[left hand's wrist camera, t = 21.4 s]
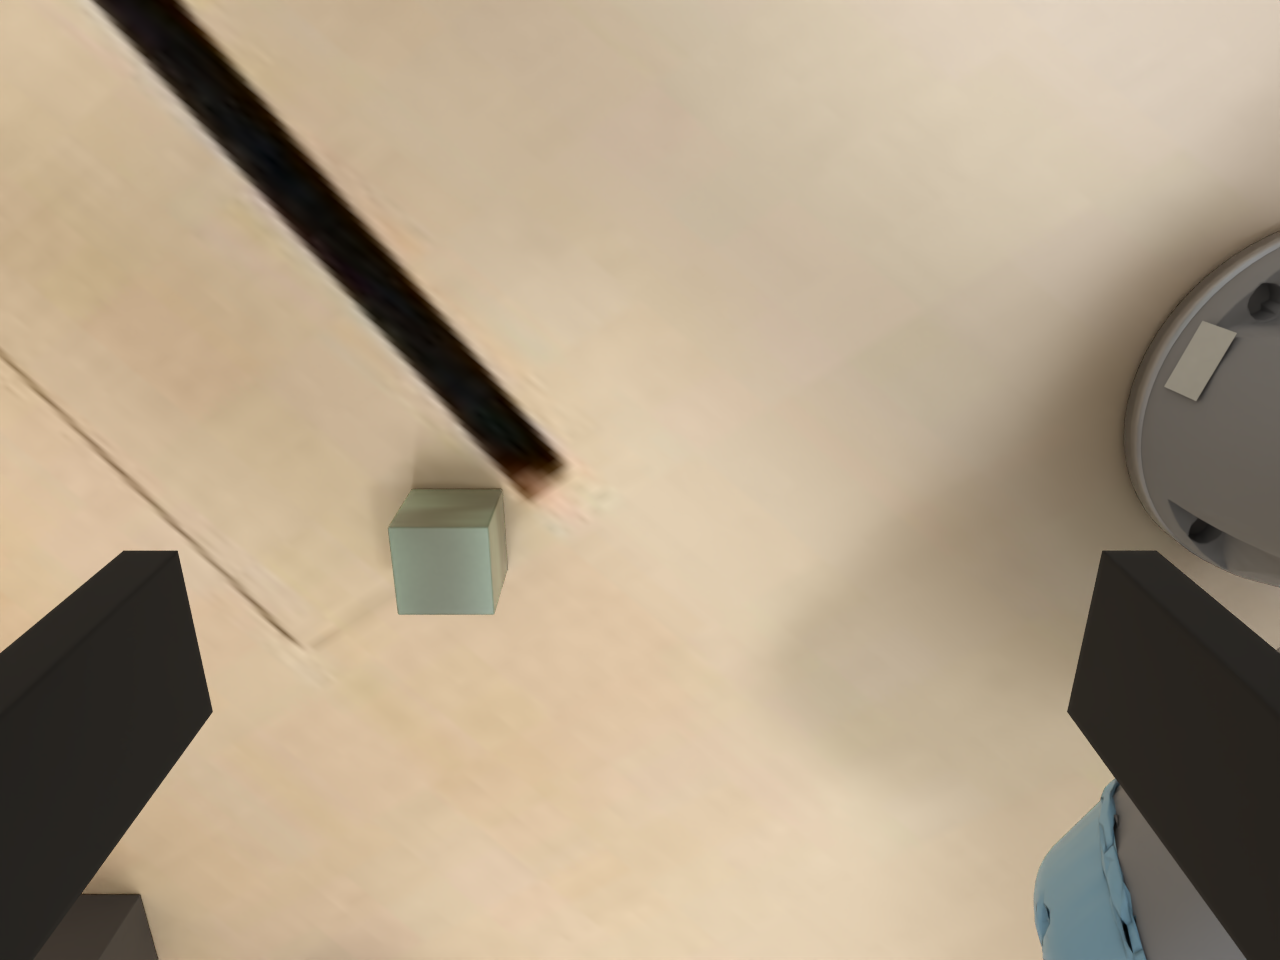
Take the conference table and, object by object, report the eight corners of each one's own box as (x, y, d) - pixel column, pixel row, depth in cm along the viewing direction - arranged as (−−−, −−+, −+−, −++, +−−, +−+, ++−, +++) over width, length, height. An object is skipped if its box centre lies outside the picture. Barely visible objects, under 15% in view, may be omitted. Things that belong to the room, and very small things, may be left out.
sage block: (502, 488, 39) (488, 527, 35) (507, 569, 40) (494, 615, 37) (411, 488, 39) (387, 527, 35) (419, 569, 40) (397, 615, 37)
